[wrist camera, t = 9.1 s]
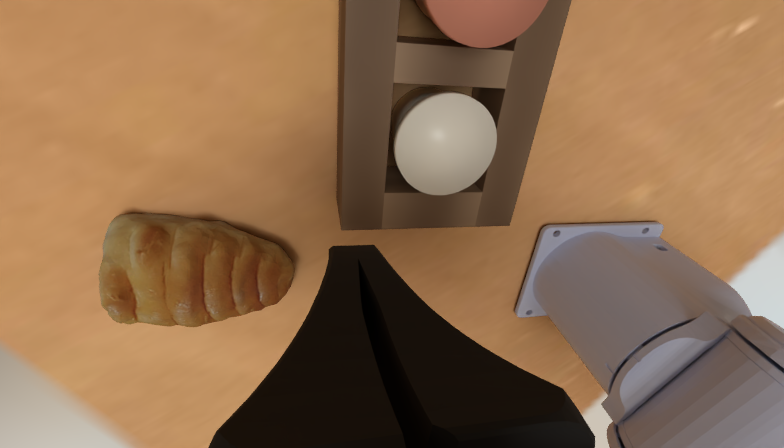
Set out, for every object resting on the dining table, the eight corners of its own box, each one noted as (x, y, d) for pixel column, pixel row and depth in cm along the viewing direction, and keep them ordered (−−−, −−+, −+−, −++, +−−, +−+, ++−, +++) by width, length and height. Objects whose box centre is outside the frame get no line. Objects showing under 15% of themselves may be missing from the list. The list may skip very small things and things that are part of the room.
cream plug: (472, 79, 20) (507, 96, 16) (457, 163, 22) (485, 194, 18) (383, 74, 19) (401, 91, 15) (377, 163, 21) (391, 195, 17)
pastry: (297, 214, 22) (296, 252, 19) (292, 303, 25) (289, 348, 22) (109, 203, 20) (71, 244, 16) (130, 302, 23) (101, 353, 20)
